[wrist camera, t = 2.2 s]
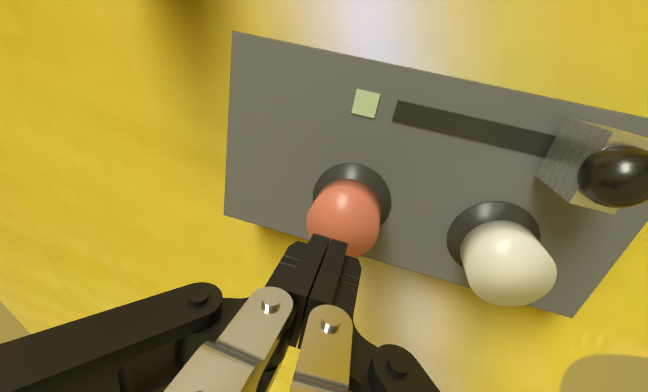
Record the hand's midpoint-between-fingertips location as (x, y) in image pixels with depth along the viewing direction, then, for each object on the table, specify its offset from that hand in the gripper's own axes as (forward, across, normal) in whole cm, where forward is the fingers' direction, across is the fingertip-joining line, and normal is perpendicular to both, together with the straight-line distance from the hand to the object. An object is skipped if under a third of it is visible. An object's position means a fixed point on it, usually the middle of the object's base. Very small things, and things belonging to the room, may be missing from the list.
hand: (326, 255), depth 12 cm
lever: (+6, -9, -6) cm, 12 cm away
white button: (+4, -8, 0) cm, 9 cm away
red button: (+5, 0, 0) cm, 5 cm away
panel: (+10, -3, -2) cm, 10 cm away
